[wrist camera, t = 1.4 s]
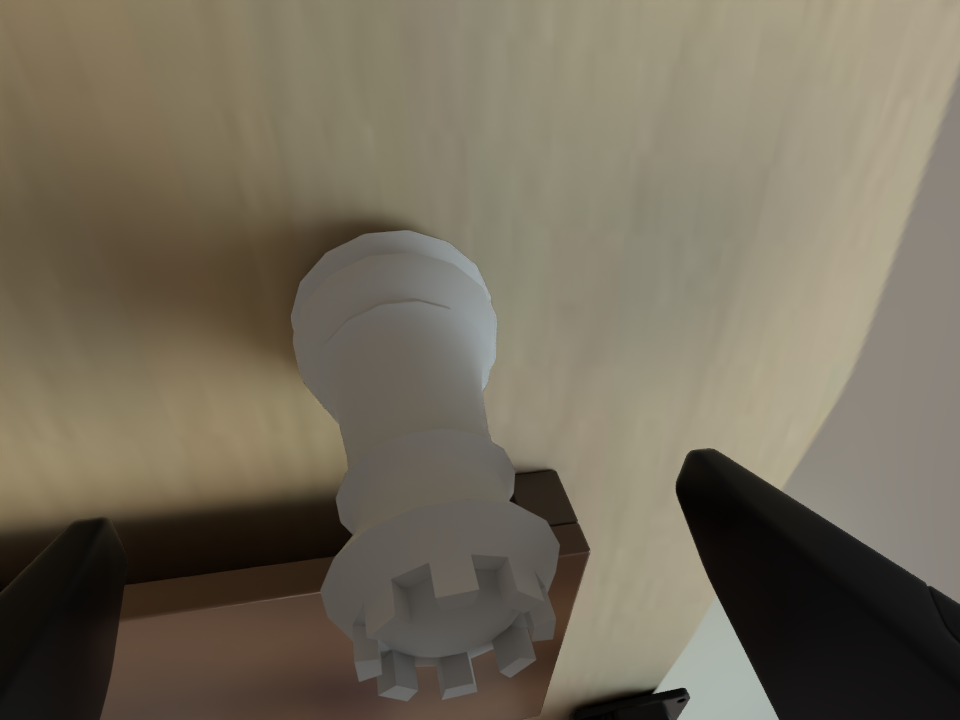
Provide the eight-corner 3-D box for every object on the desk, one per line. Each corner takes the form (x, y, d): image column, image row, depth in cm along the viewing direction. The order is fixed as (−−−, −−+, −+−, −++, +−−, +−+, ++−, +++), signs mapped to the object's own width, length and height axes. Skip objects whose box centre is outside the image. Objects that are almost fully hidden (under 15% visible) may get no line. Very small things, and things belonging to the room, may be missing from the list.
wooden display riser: (518, 639, 24) (540, 716, 22) (-55, 742, 19) (-106, 855, 17) (556, 469, 18) (592, 550, 16) (-251, 561, 14) (-371, 694, 11)
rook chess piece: (378, 415, 15) (421, 760, 9) (246, 302, 12) (173, 683, 6) (520, 319, 14) (678, 625, 8) (411, 177, 12) (519, 468, 5)
